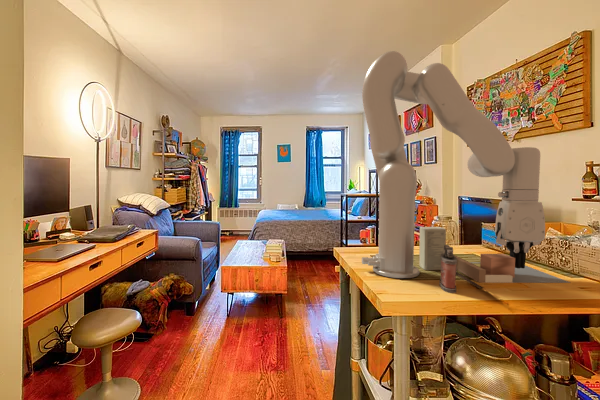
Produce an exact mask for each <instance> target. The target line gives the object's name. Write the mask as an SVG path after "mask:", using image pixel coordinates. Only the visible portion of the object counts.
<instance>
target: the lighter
mask: <svg viewBox="0 0 600 400" xmlns="http://www.w3.org/2000/svg"><path fill="white" fill-rule="evenodd" d="M454 255H455V254H454V247H452V246H450V245H449V244H446V245H444V253H441V254H440V259H441V270H440V279H439V287H440V289H442V290H443V292H446V293H450V294H454V293H457V285H456V280H457V279H456V278H457V277H456V276H457V275H456V273H457V271H458V270H457V267H456V264H457V258H456V257H455V256H456V255H455V256H454Z"/></svg>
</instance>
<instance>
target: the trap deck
mask: <svg viewBox="0 0 600 400" xmlns="http://www.w3.org/2000/svg"><path fill="white" fill-rule="evenodd" d="M453 255H454V256H455V257H456V258H457V264H456V267H457V271H458V272H457V273H456V276H457V277H459V278H461V279H462V280H463V281H466V282H467V283H469V284H471V285H472V286H474V287H476V288H477V289H484V286H482V285H480V284H479V283H486V284H487V283H496V284H498V283H508V284H510V283H513V284H514V283H518V284H519V283H523V284H524V283H529V284H530V283H533V284H535V283H539V284H540V283H542V284H543V283H545V284H547V283H548V284H551V283H552V284H553V283H554V284H559V283H560V284H561V283H562V284H567V283H568V284H571V281H569V280H565V279H563V278H559V277H557V276H554V275H552V274H549V273H546V272H544V271H542V270H539V269H536V268H533V267H530V266H528V265H525V268H515V277H514V278H513V276H511V275H486V270H485V269H482V268H480V266H478V265H476V264H480V261H479V262H476V261H474V262H473V261H472V262H470V261H468V260H466V259H463V258H461V257H460V256H457V255H455V254H453ZM459 272H460V273H459ZM464 275H465V276H464ZM466 276H467V277H466ZM469 278H470V279H469ZM473 280H474V281H473ZM475 281H476V282H475Z"/></svg>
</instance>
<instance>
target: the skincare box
mask: <svg viewBox="0 0 600 400" xmlns="http://www.w3.org/2000/svg"><path fill="white" fill-rule="evenodd" d="M446 238H447V229H446V228H443V227H440V226H419V249H418V250H419V253H418V254H419V255H418V256H419V261H418V266H419V267H420V268H421V269H423V270H424V271H441V259H440V254H441V253H444V245H447V244H446V242H447V239H446Z"/></svg>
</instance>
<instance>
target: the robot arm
mask: <svg viewBox="0 0 600 400" xmlns="http://www.w3.org/2000/svg"><path fill="white" fill-rule="evenodd" d="M407 63H408V62H407V60H406V58H405V56H403V55H402V54H401V53H400V52H399V51H396V50H392V51H391V50H390V51H386V52H384V53H383V54H381V55H379V56H378V57H377V58H376V59H375V60H374V61H373V62H372V63H371V65H370V67H369V68H368V70H367V72H366V74H365V76H364V79H363V84H362V89H361V90H362V92H361V93H362V97H361V99H362V105H363V111H364V114H365V115H364V116H365V120H366V125H367V129H368V132H369V139H370V140H369V142H370V144H369V145H370V149H371V153H372V157H373V158H372V159H373V161H374V166H375V169H376V173H377V176H378V180H379V182H378V183H379V186H378V187H379V193H378V195H379V197H378V199H379V201H378V205H379V206H378V207H379V208H378V253H375V256H374V255H373V256H372V257H367V256H366V257H364V256H363V257H361V265H367V266H371V267H372V271H373V272H374V273H375V274H377V275H378V276H379V275H380V276H383V277H388V278H393V279H411V278H416V277H418V276H419V275H420V269H419V268H418V267H416V266H415V265H414V261H415V260H414V258H415V257H414V255H415V253H414V252H415V248H414V247H415V212H416V211H415V209H416V196H417V195H416V194H417V182H418V181H417V180H418V178H417V173H416V171H415V168H414V167H413V165H411V164H410V163H409V161H408V159H407V155H406V150H405V147H404V145H405V142H406V137H405V133H404V131H403V128H402V125H401V121H400V117H399V113H398V110H397V106H396V105H397V104H396V100H399V101H404V102H409V103H412V104H413V103H414V104H420V105H428V106H429V108H430V110H431V111H432V113H433V114H434V116H435V117H436V119H437V120H438V122H439V123H440V125H441V127H442V128H444V129H445V130H446V131H449V132H450V133H453V134H454V135H456V136H458V137H459V138H460V139H461V140H463V142H464V143H465V144H466V145H467V147H468V148H469V150H470V151H471V153H472V154H471V155H470V156H469V158H468V159H467V168H468V170H469V172H470V173H471V174H472V175H474V176H476V177H480V178H493V177H494V178H495V177H502V189H501V190H502V191H499V192H498V193H497V196H498V198H501V201H499V204H498V207H497V210H496V217H495V227H494V234H495V237H496V239H495V243H496V244H498V245H500V246H505V248H507V251H509V256H511V257H514V258H515V268H525V266H526V260H527V259H526V257H527V254H528V253H529V251H530V249H531V248H532V247H533V246H537V245H538V246H539V245H541V243H542V241H544V240H545V238H546V220H545V219H546V217H545V211H544V206H543V202H541V201H539V194H540V189H539V188H540V173H541V172H540V170H541V151H540V149H539V148H537V147H532V146H529V147H525V146H524V147H513V148H512V146H511V145H510V143H509V142H508V140H507V139H506V137H505V135H504V134H503V133H502V132H501V130H500V129H499V128H498V126H497V125H496V124H495V123H494V122H493V121H492V120H491V119H490V118H488V117H487V116H485V115H484V114H483V113H482V112H481V111H480V110H478V109H477V107H475V106H474V104H473V103H472V101H471V100H470V98H469V96H467V94H466V93H465V91H464V89H463V88H462V86H461V85H460V84H459V82H458V80H457V79H456V78H455V76H454V75H453V73H452V71H451V70H450V69H449V68H448V66H446V65H445V64H443V63H441V62H435V63H431V64H429V65H427V66H426V67H424V68H423V69H422V70H421V71H420V73H419V72H418V73H416V72H412V71H408V64H407Z"/></svg>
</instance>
